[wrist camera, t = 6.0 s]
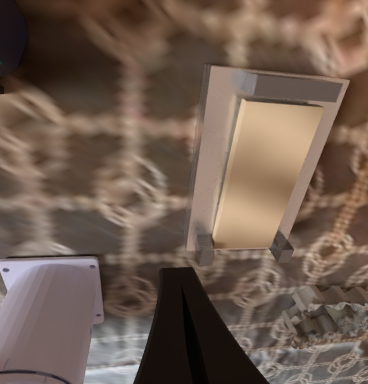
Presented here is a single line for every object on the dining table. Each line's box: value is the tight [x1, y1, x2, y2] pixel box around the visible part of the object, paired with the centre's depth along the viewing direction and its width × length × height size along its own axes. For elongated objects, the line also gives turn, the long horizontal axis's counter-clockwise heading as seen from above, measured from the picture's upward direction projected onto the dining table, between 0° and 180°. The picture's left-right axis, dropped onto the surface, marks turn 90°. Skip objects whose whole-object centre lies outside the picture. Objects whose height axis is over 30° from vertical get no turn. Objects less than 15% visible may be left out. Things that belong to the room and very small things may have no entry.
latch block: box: [183, 64, 350, 266], centre depth 18 cm, size 14×9×4 cm, turn 175°
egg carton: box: [282, 285, 368, 349], centre depth 30 cm, size 11×8×4 cm
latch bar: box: [211, 98, 325, 249], centre depth 18 cm, size 12×5×1 cm, turn 175°
